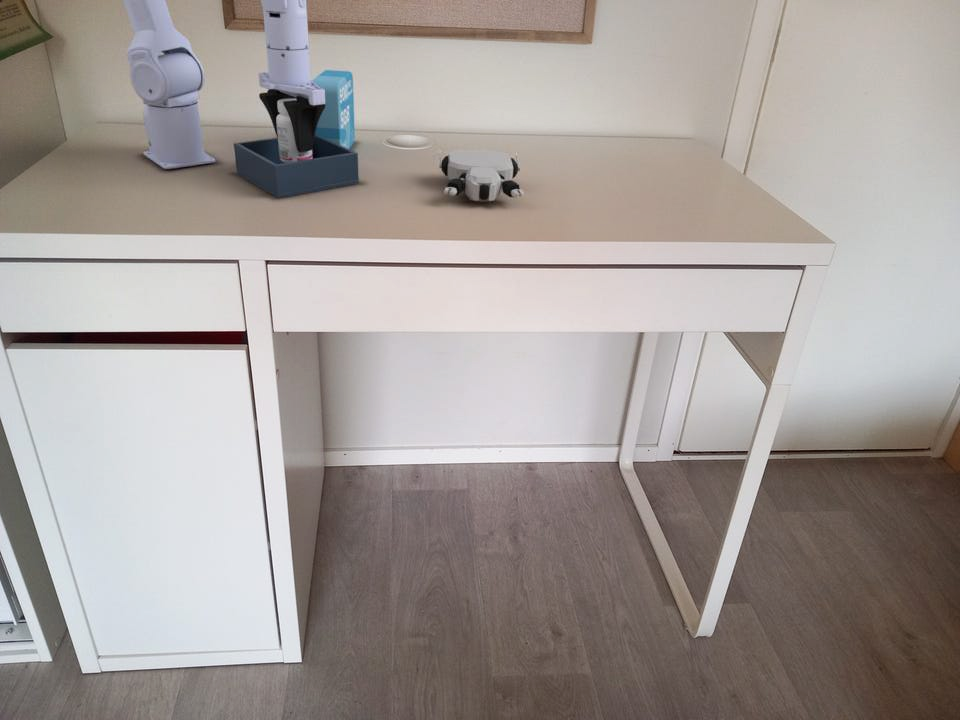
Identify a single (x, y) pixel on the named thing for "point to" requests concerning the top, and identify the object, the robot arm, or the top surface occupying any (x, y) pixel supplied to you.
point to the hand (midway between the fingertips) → (295, 146)
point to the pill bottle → (288, 137)
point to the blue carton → (337, 107)
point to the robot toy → (480, 174)
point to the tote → (296, 167)
